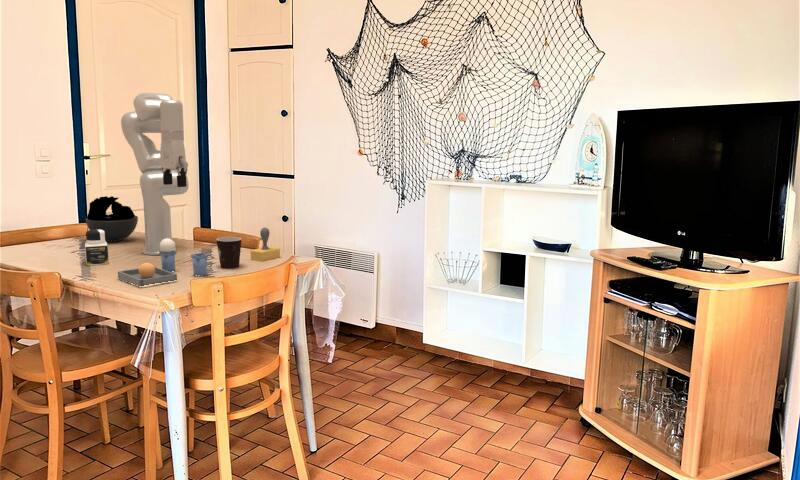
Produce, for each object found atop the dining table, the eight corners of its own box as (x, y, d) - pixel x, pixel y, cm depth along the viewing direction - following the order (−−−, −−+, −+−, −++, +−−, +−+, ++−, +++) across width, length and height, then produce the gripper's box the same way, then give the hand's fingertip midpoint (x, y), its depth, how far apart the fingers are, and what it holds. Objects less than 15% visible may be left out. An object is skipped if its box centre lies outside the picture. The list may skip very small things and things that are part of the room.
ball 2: (157, 252, 219) (156, 238, 218) (171, 250, 223) (170, 236, 222) (164, 255, 216) (163, 240, 215) (178, 253, 219) (177, 238, 219)
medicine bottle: (86, 265, 226) (84, 232, 224) (86, 261, 233) (83, 229, 230) (108, 264, 230) (106, 231, 227) (107, 260, 236) (105, 227, 234)
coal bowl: (102, 236, 282) (99, 193, 278) (147, 237, 281) (144, 194, 278) (77, 245, 262) (74, 199, 259) (126, 246, 261) (123, 200, 258)
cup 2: (190, 274, 216) (190, 254, 215) (202, 272, 219) (202, 252, 218) (197, 277, 213) (197, 256, 212) (209, 275, 216) (208, 254, 215)
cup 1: (159, 271, 220) (158, 251, 219) (171, 269, 224) (170, 249, 222) (165, 273, 217) (164, 253, 216) (177, 271, 221) (176, 251, 219)
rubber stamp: (260, 262, 238) (260, 230, 236) (250, 259, 241) (249, 228, 239) (280, 257, 246) (279, 226, 244) (269, 255, 249) (269, 225, 247)
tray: (118, 279, 209) (117, 271, 208) (153, 273, 218) (152, 265, 217) (140, 288, 198) (140, 280, 198) (177, 281, 207) (176, 274, 206)
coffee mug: (219, 264, 233) (218, 236, 231) (244, 264, 234) (243, 236, 232) (213, 271, 221) (212, 242, 220) (238, 271, 222) (238, 243, 220)
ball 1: (136, 277, 208) (135, 262, 206) (151, 274, 211) (150, 260, 210) (143, 281, 204) (142, 265, 203) (158, 278, 208) (157, 263, 207)
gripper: (150, 135, 226) (152, 184, 229) (175, 137, 215) (177, 188, 218) (170, 135, 232) (172, 183, 235) (195, 137, 220) (197, 187, 223)
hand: (174, 185), depth 226 cm, fingers open, 9 cm apart
